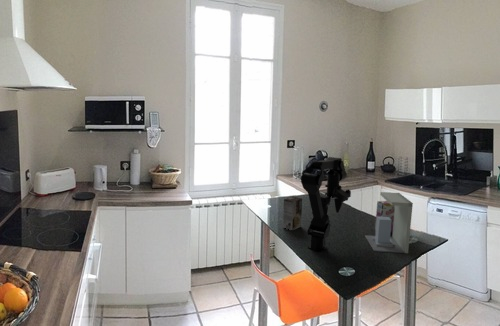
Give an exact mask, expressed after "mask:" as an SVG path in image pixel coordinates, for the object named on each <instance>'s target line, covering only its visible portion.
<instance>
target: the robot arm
mask: <svg viewBox="0 0 500 326" xmlns="http://www.w3.org/2000/svg"><path fill="white" fill-rule="evenodd" d="M315 170H316V171H320V174H318V173H313V172H314V171H315ZM324 170H328V171H327V173H326V175H327V177H326V178H327V184H325V186H324V187H325V188H326V192H324V195H323V194H321V192H320V188H321V186H322V185H323V181H324V179H325V174H324ZM347 176H348V175H347V171H346V169H345V164H344V160H343V159H342V158H341V157H333V156H332V157H331V156H328V157H327V158H325V159H324V160H323V159H322V160H313V161H312V162H311V164H310V165H309V166H308V167H306V168H305V169H304V171H303V172H302V175H301V177H300V182H301V186H302V188H303V189H304V190H305V191H306V192H307V195H308V198H309V199H308V200H309V204H310V207H311V208H310V209H311V213H312V219H311V220H310V224H309V227H308V229H307V236H310V245H309V246H307V248H309V249H310V250H312V251H315V252H318V253H319V252H323V251H325V250H327V249H328V247H326V239H327V238H329V236H330V231H331V223H330V222H331V221H330V216H329V215H328V210H329V207H330V205H331V200H333V201H334V207H335V211H336V214H339V213H340V210H341V208H342V206H343V203H345V202H347V201H348V200H349V198H350V197H351V196H352V192H351V189H349V188H347V189H342V185H340V182H342V181H344V180H346V178H347Z"/></svg>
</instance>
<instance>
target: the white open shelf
mask: <svg viewBox="0 0 500 326" xmlns="http://www.w3.org/2000/svg"><path fill="white" fill-rule="evenodd" d="M380 196H381V197H382V198H383V199H384V201H387V202H389V203H390V204H391V205H393V206H395V211H394V222H393V232H392V236H390V244H379V243H376V242H375V236H376V235H366V234H365V235H364V237H365V239H366V240H367V242H368V243H369V245H370V246H371V248H372V251H374V252H378V253H379V252H380V253H381V252H382V253H400V254H409V247H410V236H411V228H412V227H411V226H412V225H411V224H412V217H413V216H412V215H413V214H412V213H413V204H414V203H413V202H412V201H411V200H409V199H408V198H406V197H405V196H404V195H403V194H401V193H400V192H391V191H389V192H388V191H387V192H386V191H381V192H380Z"/></svg>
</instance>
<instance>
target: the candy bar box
mask: <svg viewBox="0 0 500 326" xmlns="http://www.w3.org/2000/svg"><path fill="white" fill-rule="evenodd" d="M394 211H395V206H393V205H391V204H390V203H389V202H387V201H386V200H377V204H376V214H375V222H374V223H375V224H374V231H375V232H376V223H377V216H379V217H389V218H390V219H391V220H392V222H391V233H393V222H394Z"/></svg>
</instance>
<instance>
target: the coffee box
mask: <svg viewBox="0 0 500 326" xmlns="http://www.w3.org/2000/svg"><path fill="white" fill-rule="evenodd" d="M302 206H303V198H301V197H297V196H290V197H287V198H285V199H283V214H282V215H283V218H282V228H283V229H284V228H286V229H285V230H288V229H289V231H291V230H293V231H295V230H297V229H298V228H301V227H302V213H303V207H302Z"/></svg>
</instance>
